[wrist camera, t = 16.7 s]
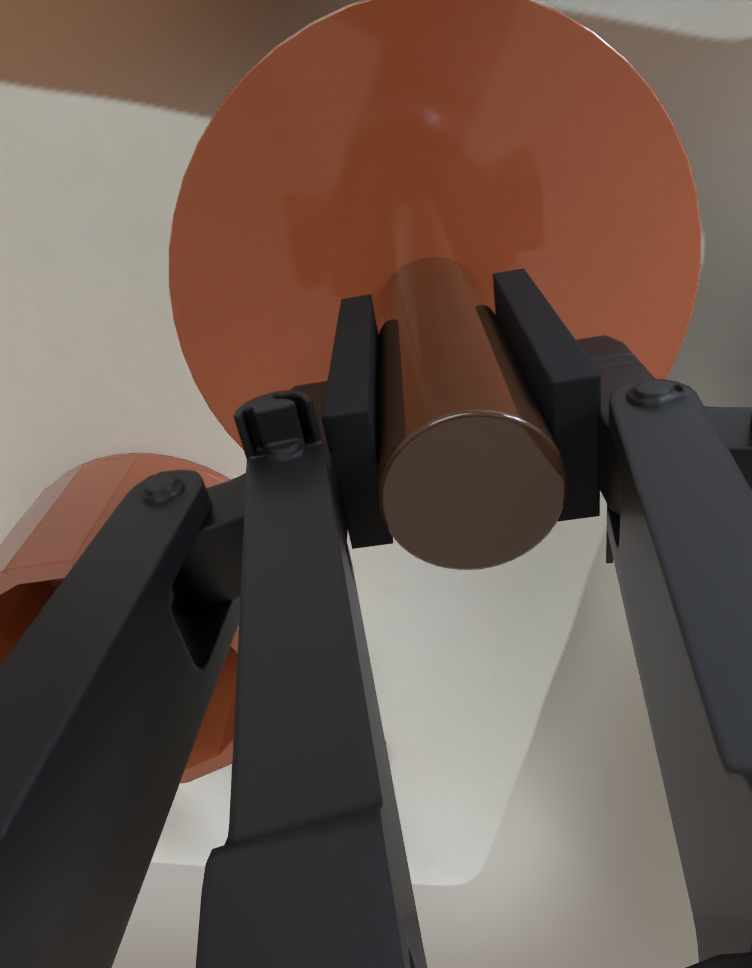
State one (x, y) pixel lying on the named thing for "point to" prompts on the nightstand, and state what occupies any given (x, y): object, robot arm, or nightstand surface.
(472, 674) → the nightstand surface
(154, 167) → the nightstand surface
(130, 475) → the crock
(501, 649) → the nightstand surface
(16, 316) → the nightstand surface
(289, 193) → the crock lid
